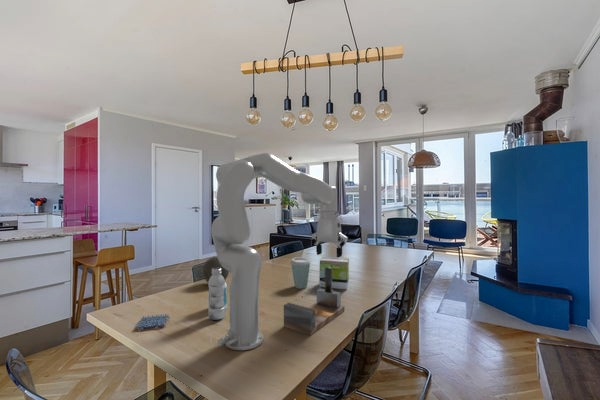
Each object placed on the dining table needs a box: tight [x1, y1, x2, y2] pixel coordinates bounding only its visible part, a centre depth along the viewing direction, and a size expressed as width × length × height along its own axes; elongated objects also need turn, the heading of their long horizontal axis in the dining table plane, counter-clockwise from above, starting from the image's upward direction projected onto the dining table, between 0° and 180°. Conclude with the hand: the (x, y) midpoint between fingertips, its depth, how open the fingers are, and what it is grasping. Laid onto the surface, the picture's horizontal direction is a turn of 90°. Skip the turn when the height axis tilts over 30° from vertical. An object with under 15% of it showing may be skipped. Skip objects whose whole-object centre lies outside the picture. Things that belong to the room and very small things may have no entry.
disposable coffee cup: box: [290, 257, 311, 289], centre depth 153 cm, size 11×11×15 cm
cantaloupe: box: [202, 256, 230, 283], centre depth 158 cm, size 14×14×15 cm
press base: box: [283, 302, 345, 336], centre depth 113 cm, size 26×12×8 cm, turn 145°
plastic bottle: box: [207, 267, 226, 321], centre depth 113 cm, size 6×7×20 cm
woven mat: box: [135, 313, 171, 332], centre depth 108 cm, size 10×11×2 cm
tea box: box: [318, 256, 350, 290], centre depth 154 cm, size 15×10×15 cm, turn 76°
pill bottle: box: [208, 277, 228, 310], centre depth 123 cm, size 8×7×14 cm
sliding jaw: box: [316, 267, 342, 308], centre depth 121 cm, size 3×10×16 cm, turn 55°
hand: (329, 255), depth 121 cm, fingers open, 9 cm apart
